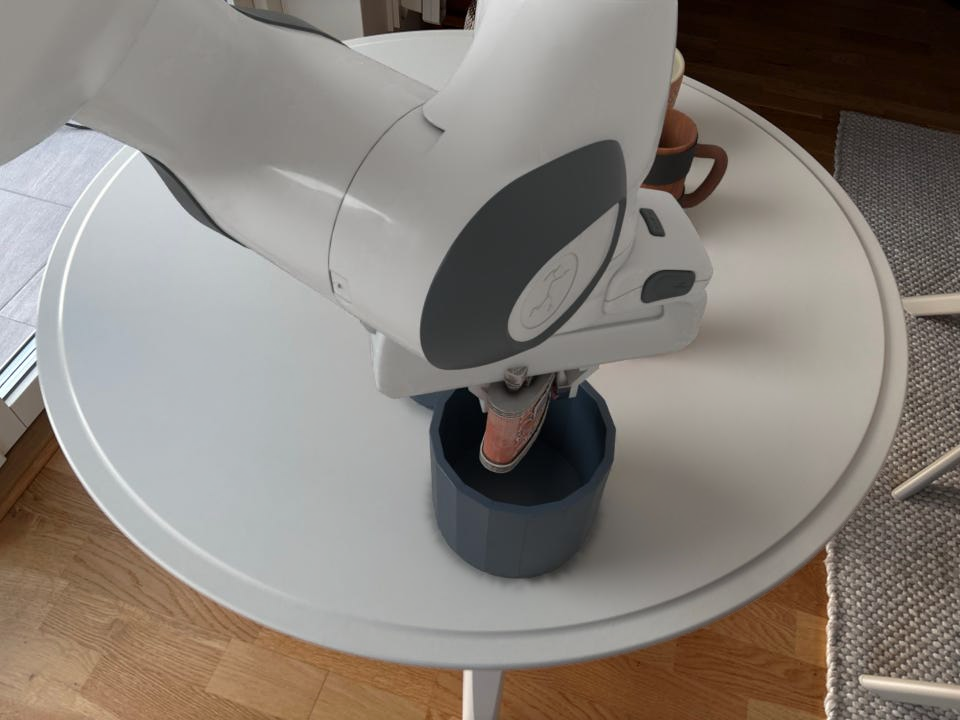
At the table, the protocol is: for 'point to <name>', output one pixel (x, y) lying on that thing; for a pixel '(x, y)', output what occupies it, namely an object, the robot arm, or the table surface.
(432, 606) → the table surface
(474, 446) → the pot
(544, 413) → the lighter
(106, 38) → the robot arm
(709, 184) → the mug
